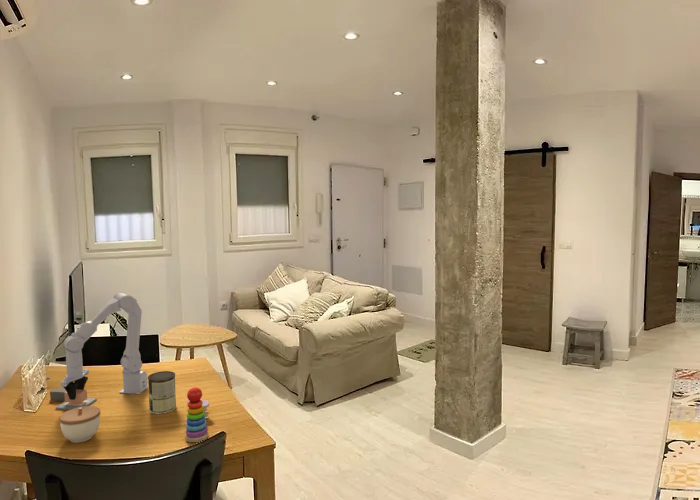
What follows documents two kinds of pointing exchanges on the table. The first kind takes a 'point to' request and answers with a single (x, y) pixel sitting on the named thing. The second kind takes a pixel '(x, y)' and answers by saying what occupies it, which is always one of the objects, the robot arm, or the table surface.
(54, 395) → the charcoal brick
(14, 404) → the table surface
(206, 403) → the toy table
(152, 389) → the coffee can
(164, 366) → the table surface
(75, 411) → the lidded bowl
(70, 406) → the slate baseplate
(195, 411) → the stacking toy
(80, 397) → the terracotta brick
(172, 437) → the table surface
